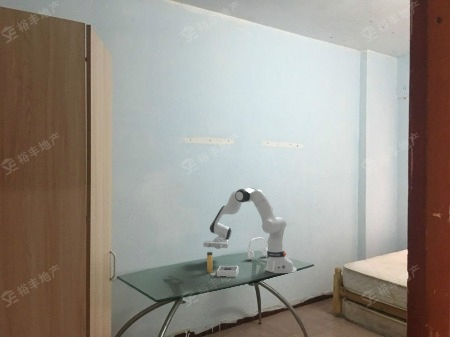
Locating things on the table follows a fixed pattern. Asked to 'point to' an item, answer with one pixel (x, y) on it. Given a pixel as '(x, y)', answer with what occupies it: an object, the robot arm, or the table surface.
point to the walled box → (228, 271)
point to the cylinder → (209, 262)
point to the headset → (264, 249)
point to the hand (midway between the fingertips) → (213, 246)
